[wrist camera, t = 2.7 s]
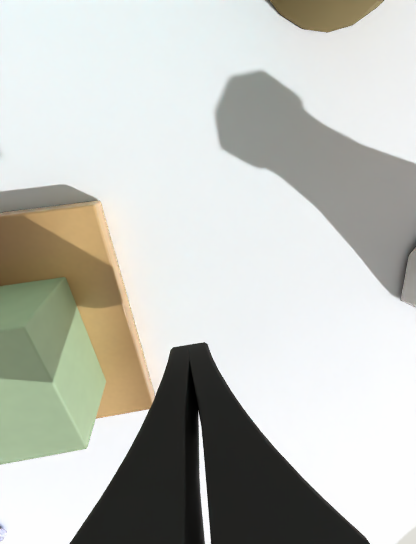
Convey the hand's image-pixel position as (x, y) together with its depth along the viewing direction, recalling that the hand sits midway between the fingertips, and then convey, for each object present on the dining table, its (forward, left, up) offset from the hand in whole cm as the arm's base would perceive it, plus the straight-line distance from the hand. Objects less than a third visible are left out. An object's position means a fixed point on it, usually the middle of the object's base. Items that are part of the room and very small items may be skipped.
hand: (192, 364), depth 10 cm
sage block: (-6, +4, -3) cm, 8 cm away
